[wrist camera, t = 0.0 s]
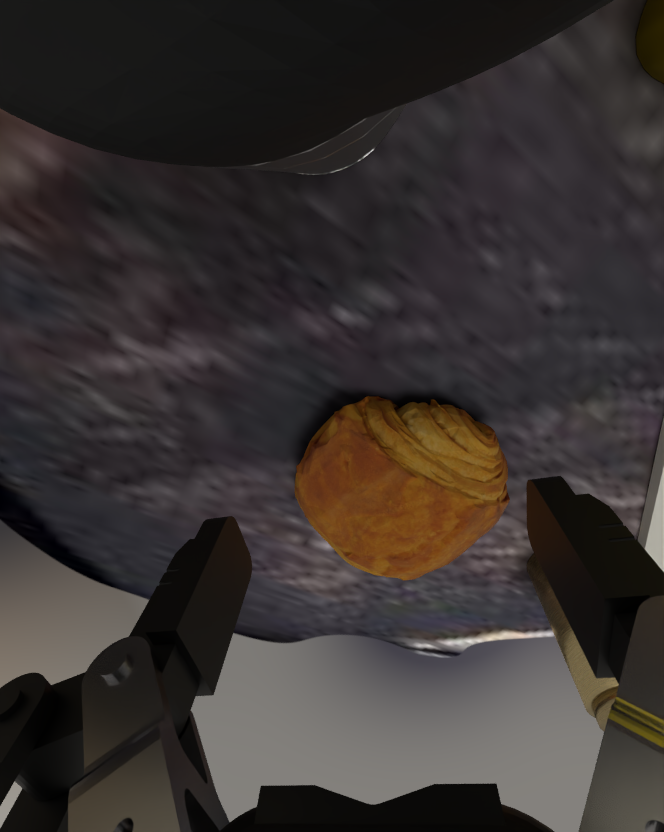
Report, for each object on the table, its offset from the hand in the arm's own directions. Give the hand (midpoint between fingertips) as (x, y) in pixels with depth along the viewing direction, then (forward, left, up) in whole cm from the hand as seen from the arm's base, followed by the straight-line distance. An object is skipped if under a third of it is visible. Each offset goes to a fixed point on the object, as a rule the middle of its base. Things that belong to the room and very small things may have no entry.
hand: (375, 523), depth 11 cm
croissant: (+12, 0, -18) cm, 21 cm away
